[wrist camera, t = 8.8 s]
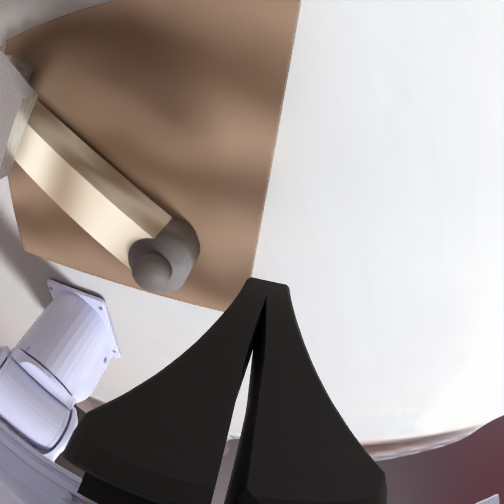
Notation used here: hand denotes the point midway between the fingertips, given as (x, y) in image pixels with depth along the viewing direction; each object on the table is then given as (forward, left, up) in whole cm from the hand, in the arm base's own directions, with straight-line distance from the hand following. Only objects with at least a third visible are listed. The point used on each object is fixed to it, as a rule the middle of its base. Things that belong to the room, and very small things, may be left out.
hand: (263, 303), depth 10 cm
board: (+2, +12, -8) cm, 15 cm away
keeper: (+7, +18, -7) cm, 21 cm away
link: (0, +11, -7) cm, 13 cm away
